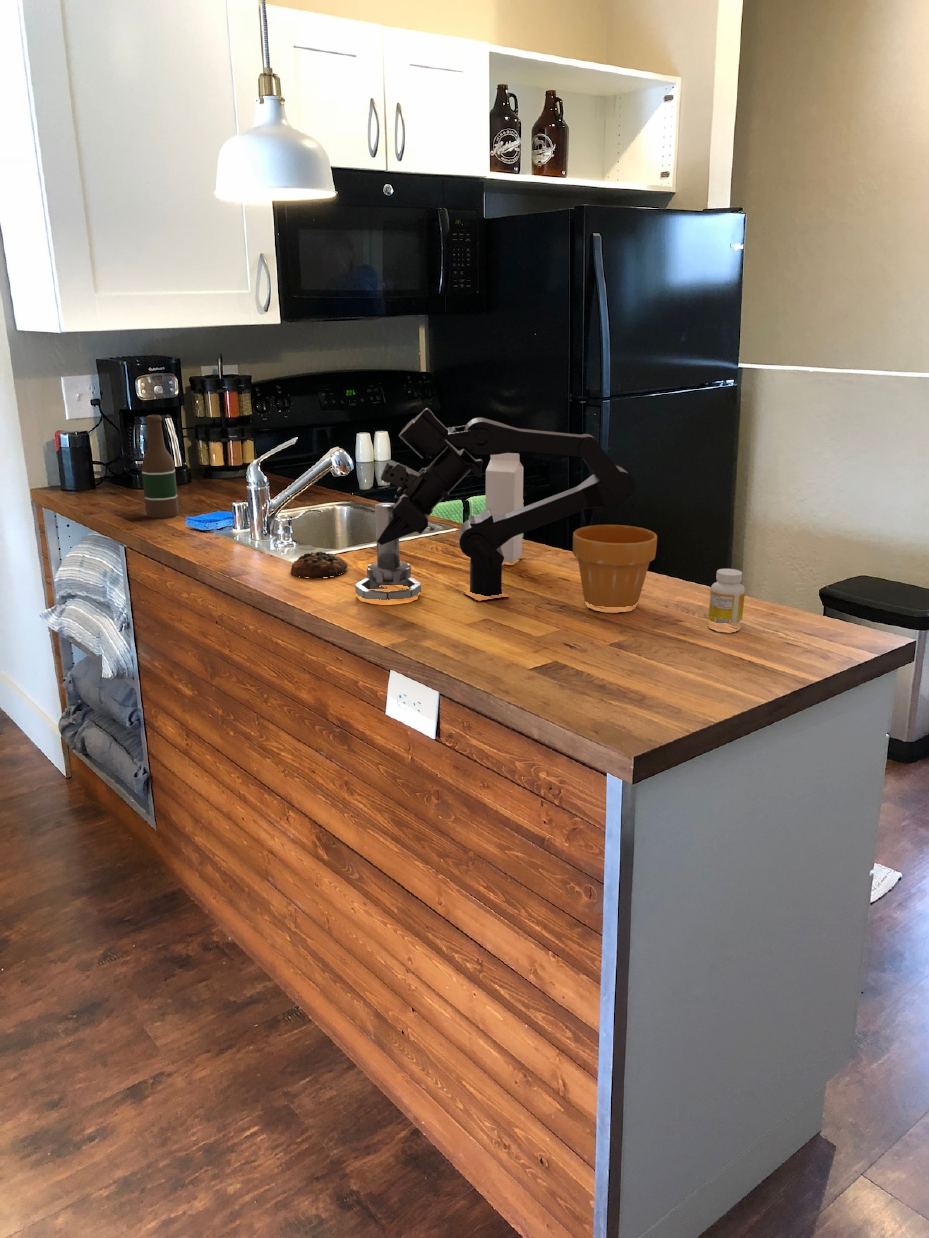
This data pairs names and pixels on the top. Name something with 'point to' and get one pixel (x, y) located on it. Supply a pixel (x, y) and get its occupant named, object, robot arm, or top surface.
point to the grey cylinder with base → (387, 551)
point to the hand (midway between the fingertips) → (379, 540)
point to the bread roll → (318, 565)
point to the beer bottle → (158, 474)
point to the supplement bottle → (727, 597)
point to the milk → (505, 495)
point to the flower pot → (613, 562)
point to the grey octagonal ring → (366, 584)
